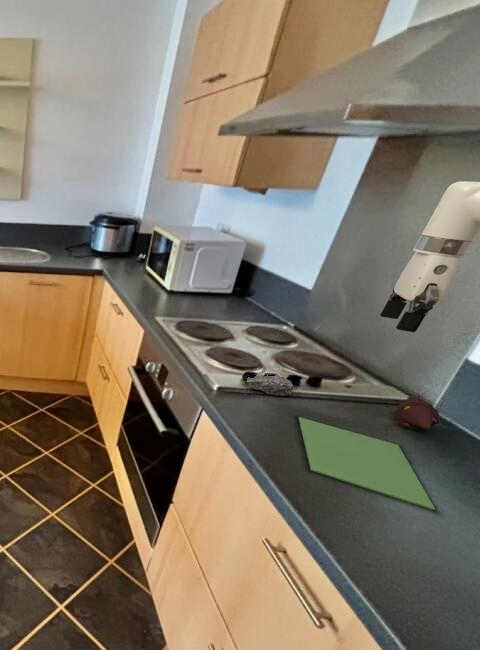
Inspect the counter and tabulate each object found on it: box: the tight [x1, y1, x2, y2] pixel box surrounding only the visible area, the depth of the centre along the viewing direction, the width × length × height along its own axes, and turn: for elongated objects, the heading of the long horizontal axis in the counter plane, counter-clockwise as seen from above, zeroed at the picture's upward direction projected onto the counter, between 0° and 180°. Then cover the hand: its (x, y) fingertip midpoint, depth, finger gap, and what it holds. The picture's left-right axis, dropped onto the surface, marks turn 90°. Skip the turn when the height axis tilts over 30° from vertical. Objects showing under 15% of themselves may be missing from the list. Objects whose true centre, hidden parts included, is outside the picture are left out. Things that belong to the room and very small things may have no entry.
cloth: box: [298, 416, 436, 511], centre depth 85 cm, size 18×22×1 cm
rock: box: [246, 373, 294, 397], centre depth 109 cm, size 8×10×4 cm
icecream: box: [394, 394, 440, 431], centre depth 96 cm, size 7×7×15 cm
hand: (396, 323), depth 94 cm, fingers open, 9 cm apart
